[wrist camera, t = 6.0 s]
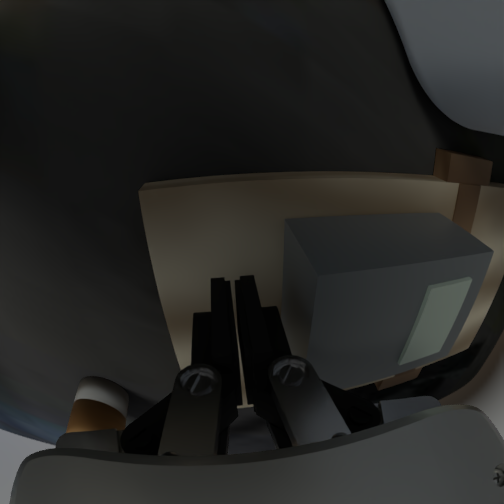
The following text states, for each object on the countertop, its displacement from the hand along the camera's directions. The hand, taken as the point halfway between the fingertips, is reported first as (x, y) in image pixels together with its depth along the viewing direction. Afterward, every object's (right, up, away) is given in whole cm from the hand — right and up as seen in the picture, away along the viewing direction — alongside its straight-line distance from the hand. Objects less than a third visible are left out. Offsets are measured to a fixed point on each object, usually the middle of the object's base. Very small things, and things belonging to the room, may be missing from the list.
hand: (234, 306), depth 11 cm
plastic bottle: (+13, +17, -4) cm, 21 cm away
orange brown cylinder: (-10, -8, +6) cm, 15 cm away
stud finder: (+6, +1, +2) cm, 6 cm away
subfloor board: (+8, -1, +5) cm, 10 cm away
